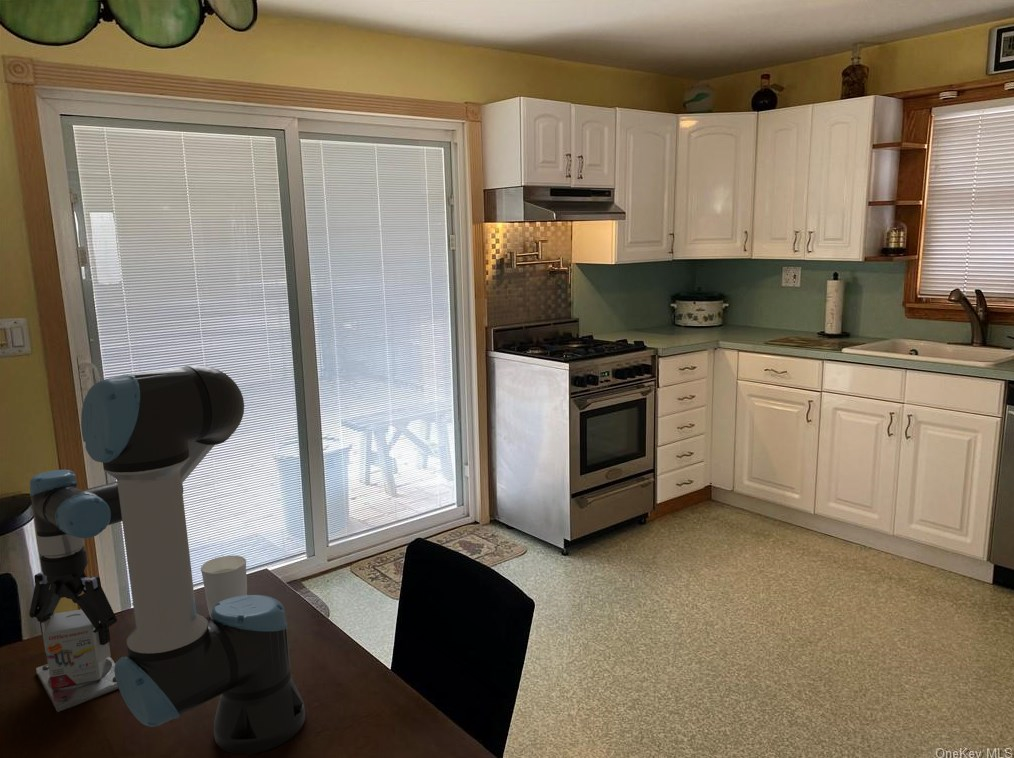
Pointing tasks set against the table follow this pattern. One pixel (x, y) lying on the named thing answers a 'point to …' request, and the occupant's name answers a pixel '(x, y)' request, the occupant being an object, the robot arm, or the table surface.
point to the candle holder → (224, 579)
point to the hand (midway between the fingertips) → (78, 654)
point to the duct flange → (79, 687)
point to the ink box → (71, 650)
